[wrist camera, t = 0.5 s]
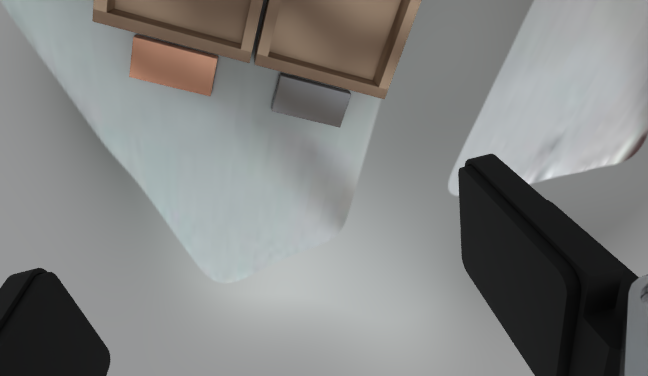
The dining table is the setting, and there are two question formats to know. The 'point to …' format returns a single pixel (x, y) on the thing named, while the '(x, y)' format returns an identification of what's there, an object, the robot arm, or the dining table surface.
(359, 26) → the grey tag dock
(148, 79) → the terracotta tag dock
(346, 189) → the dining table surface
